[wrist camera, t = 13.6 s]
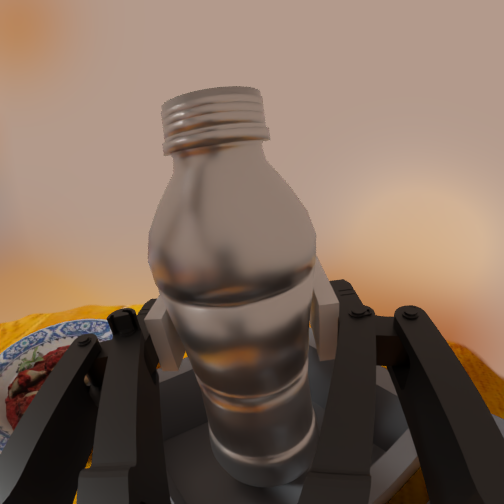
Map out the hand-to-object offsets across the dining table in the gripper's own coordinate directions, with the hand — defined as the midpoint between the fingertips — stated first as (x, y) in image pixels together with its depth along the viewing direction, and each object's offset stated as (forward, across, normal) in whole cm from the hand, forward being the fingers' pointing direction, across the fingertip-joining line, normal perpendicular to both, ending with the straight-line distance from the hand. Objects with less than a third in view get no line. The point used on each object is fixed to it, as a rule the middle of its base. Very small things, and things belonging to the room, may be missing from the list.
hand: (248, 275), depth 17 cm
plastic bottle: (-5, 0, -11) cm, 12 cm away
